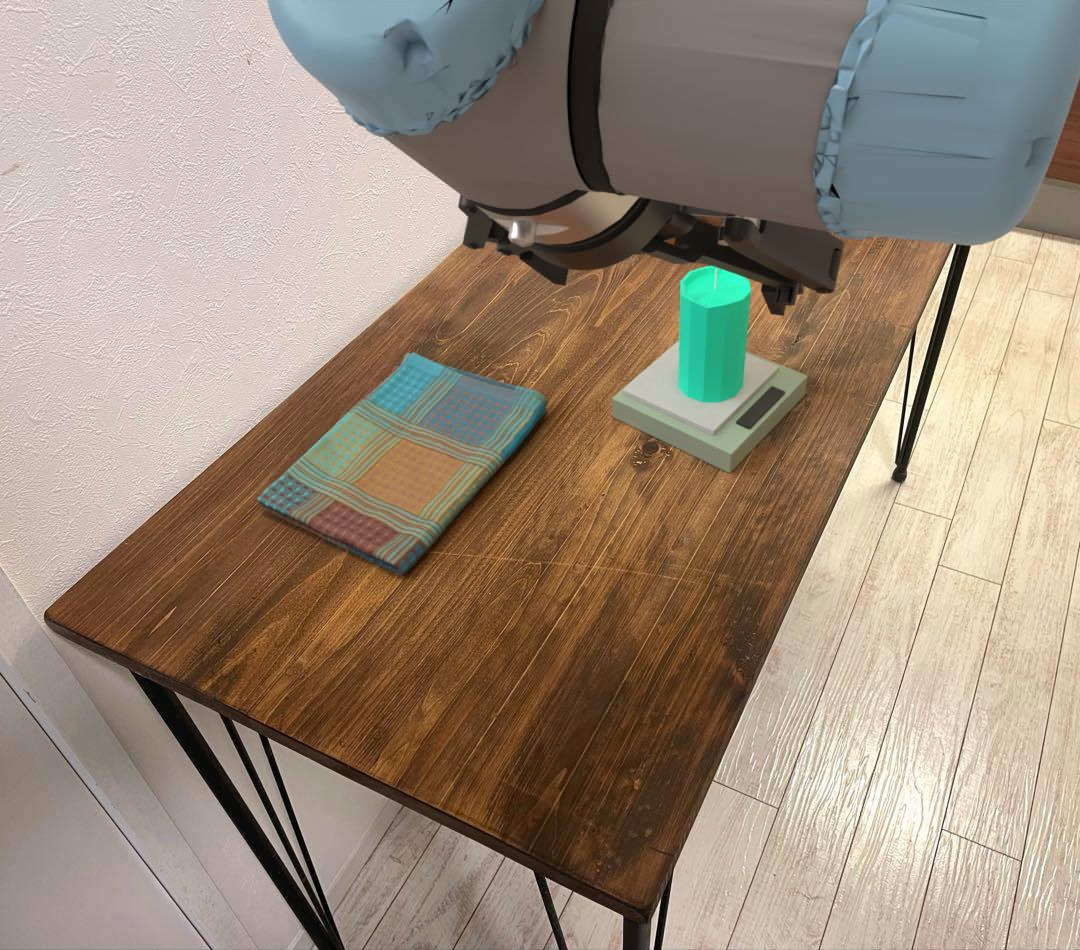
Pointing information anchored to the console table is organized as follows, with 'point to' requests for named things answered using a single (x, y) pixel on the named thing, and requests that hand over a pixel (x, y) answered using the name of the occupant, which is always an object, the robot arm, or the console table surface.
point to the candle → (713, 333)
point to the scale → (709, 409)
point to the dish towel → (405, 461)
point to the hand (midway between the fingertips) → (669, 277)
